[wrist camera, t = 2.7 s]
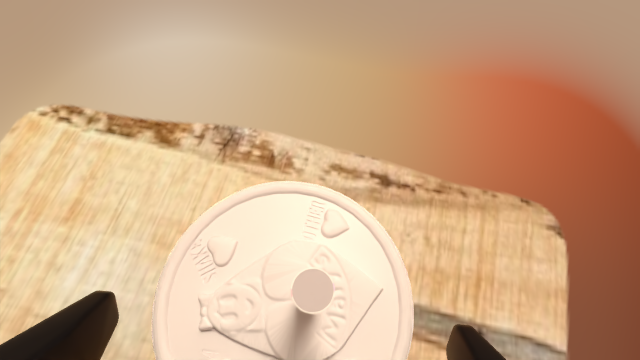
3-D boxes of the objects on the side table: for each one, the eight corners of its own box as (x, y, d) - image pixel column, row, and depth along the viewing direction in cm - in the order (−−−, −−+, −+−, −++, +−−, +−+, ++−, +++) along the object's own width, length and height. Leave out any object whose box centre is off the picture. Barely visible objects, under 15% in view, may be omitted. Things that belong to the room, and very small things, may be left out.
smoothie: (368, 367, 17) (615, 590, 3) (232, 388, 16) (-89, 747, 3) (347, 235, 19) (450, 63, 6) (227, 249, 18) (30, 95, 5)
